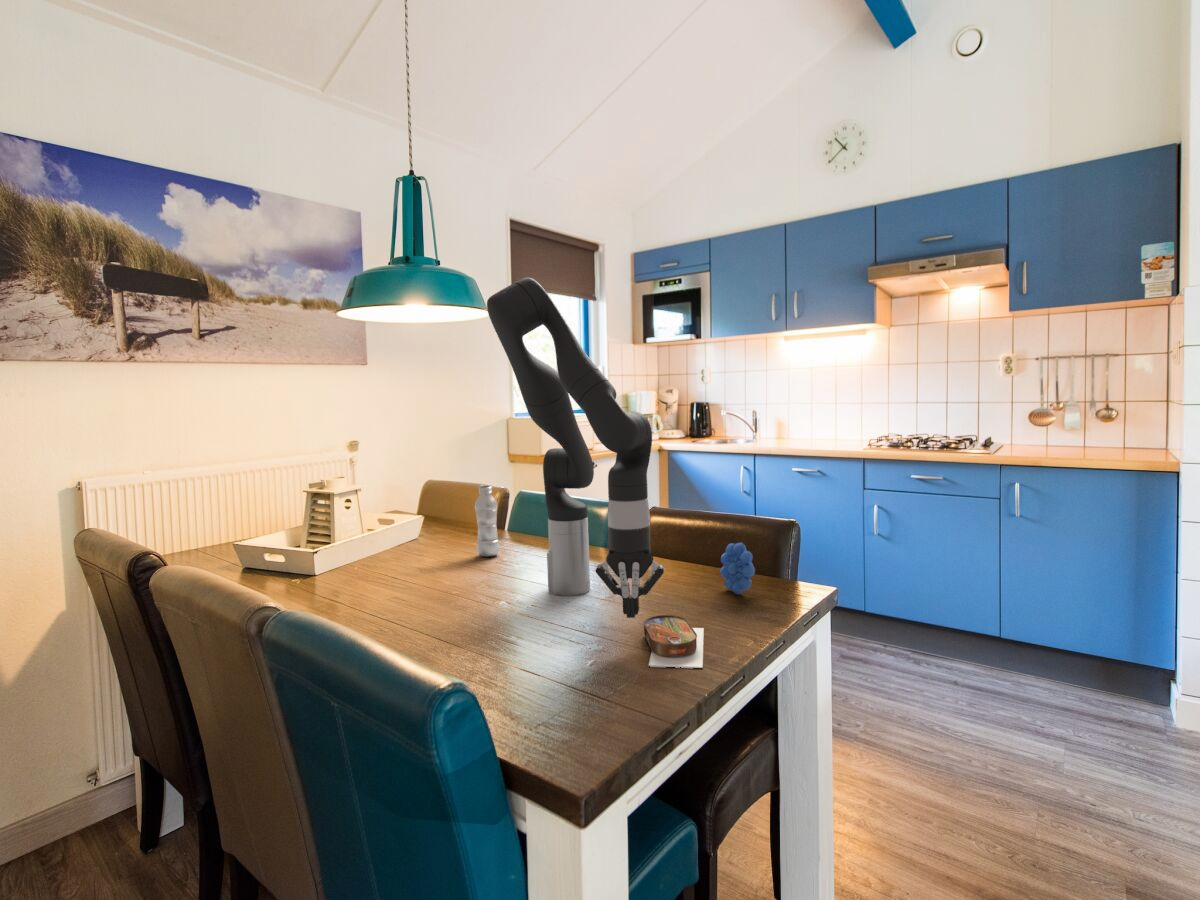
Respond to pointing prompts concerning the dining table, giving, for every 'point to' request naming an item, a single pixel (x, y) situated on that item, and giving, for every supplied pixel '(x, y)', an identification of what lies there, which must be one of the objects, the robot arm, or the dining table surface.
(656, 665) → the mat
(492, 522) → the plastic bottle
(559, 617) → the dining table surface
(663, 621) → the tin
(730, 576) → the grapes
